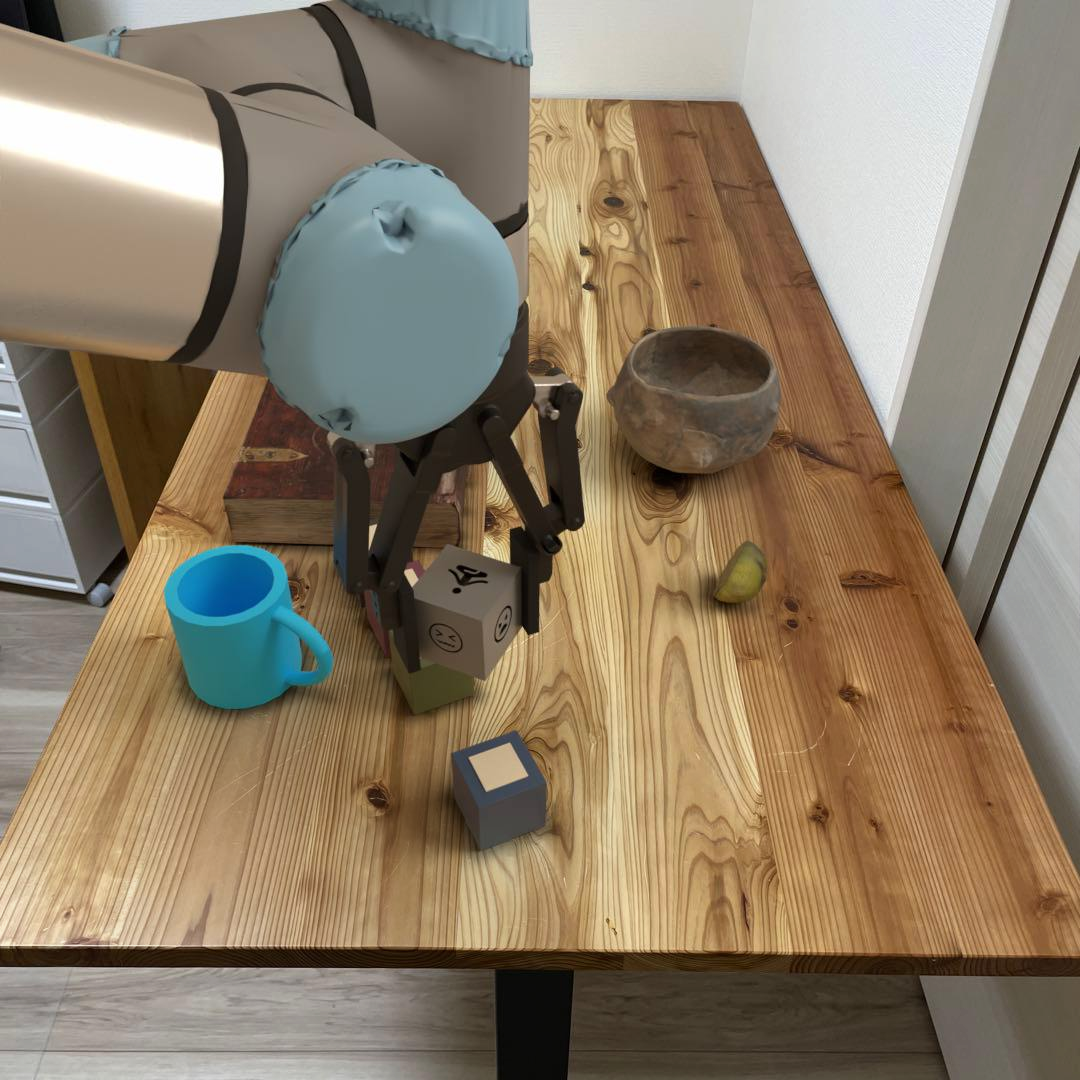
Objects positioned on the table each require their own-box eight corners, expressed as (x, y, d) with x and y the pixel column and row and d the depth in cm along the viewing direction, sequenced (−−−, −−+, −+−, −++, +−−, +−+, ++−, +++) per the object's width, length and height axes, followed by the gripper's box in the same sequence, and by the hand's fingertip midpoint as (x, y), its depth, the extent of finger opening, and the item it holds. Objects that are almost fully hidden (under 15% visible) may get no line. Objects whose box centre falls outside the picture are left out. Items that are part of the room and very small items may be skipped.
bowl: (580, 440, 100) (585, 346, 94) (708, 393, 107) (720, 302, 100) (672, 520, 91) (684, 422, 85) (805, 464, 98) (825, 369, 91)
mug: (164, 686, 76) (137, 603, 71) (234, 614, 82) (215, 532, 77) (304, 743, 73) (287, 660, 67) (368, 663, 78) (357, 581, 73)
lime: (717, 619, 82) (726, 570, 79) (697, 577, 86) (704, 530, 83) (772, 611, 83) (782, 563, 80) (750, 570, 87) (759, 522, 83)
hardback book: (460, 548, 88) (458, 500, 85) (233, 544, 88) (222, 497, 85) (479, 365, 110) (477, 321, 107) (297, 362, 110) (290, 319, 107)
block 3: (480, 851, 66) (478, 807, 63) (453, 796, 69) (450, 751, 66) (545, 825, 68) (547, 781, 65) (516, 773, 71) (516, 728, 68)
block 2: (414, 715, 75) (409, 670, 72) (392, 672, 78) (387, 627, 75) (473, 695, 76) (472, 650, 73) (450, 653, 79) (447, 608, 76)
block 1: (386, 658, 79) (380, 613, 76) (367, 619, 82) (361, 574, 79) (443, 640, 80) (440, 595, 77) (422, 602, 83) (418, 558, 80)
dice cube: (522, 626, 67) (521, 567, 64) (485, 681, 63) (482, 621, 60) (452, 603, 68) (447, 543, 65) (412, 654, 65) (405, 595, 62)
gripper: (600, 232, 57) (584, 557, 72) (223, 305, 50) (291, 646, 65) (671, 293, 52) (638, 630, 66) (261, 384, 45) (326, 734, 60)
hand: (467, 637), depth 66 cm, fingers closed on dice cube, 7 cm apart
